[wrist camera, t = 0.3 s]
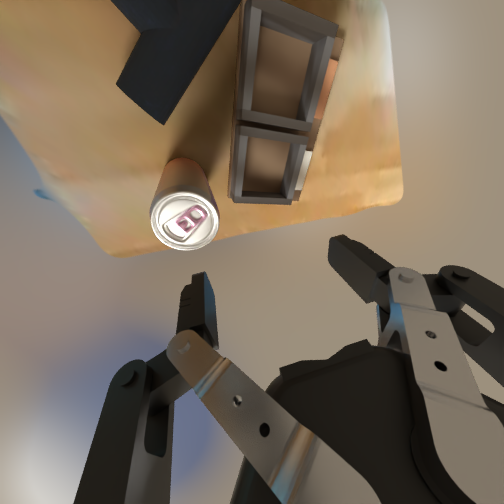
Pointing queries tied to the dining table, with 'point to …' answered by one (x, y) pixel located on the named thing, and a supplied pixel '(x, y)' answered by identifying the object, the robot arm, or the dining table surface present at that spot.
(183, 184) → the beverage can
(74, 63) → the dining table surface
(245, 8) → the socket board
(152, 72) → the pipe connector
